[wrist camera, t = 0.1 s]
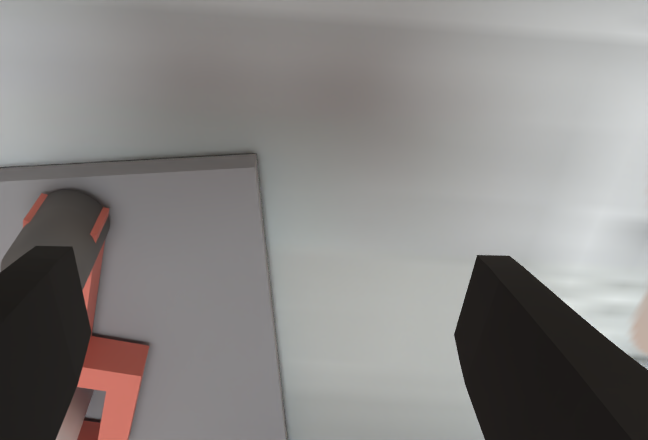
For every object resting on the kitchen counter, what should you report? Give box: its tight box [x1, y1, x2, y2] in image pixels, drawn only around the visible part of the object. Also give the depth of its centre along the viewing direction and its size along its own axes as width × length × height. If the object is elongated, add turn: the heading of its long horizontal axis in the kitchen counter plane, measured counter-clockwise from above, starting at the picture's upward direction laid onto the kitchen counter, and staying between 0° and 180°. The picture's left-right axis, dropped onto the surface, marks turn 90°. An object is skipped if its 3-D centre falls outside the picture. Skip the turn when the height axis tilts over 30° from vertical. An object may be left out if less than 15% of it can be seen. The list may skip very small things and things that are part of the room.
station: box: [0, 154, 287, 440], centre depth 21 cm, size 18×19×7 cm
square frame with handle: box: [1, 190, 149, 440], centre depth 21 cm, size 14×7×3 cm, turn 162°
